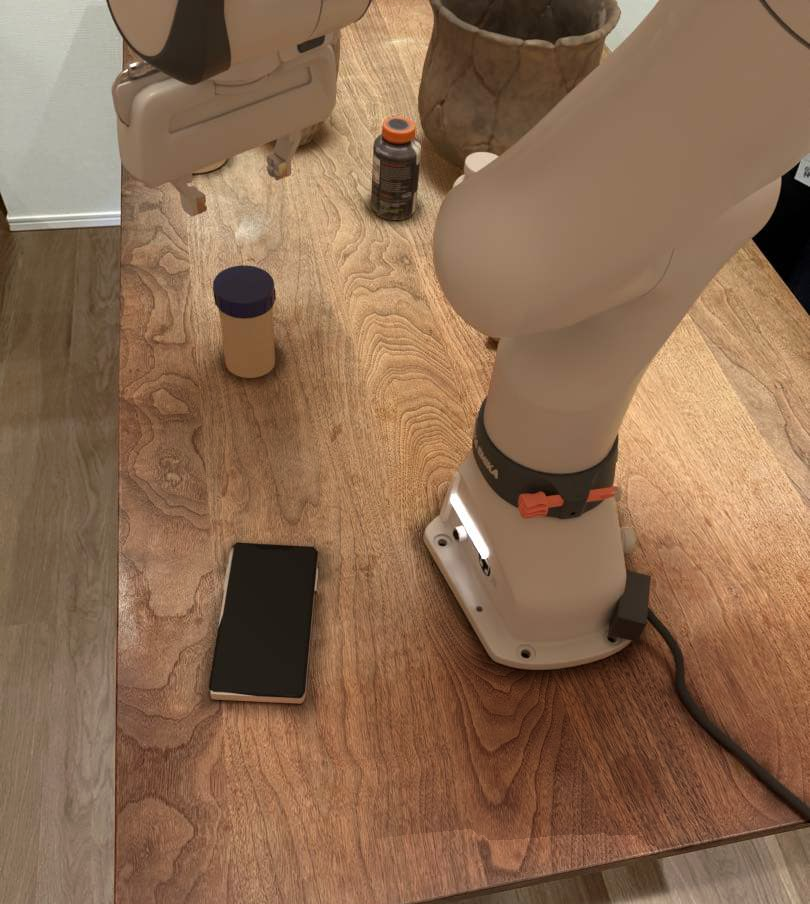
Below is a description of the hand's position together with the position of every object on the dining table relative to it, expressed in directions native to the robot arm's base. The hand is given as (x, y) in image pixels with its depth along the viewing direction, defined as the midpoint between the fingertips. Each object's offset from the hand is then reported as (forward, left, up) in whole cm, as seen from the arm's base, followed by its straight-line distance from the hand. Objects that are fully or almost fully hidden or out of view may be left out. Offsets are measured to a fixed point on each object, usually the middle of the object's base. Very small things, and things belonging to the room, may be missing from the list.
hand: (238, 192), depth 79 cm
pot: (+35, -39, -20) cm, 56 cm away
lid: (0, 0, -10) cm, 10 cm away
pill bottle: (+26, -22, -20) cm, 39 cm away
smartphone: (-33, +3, -20) cm, 39 cm away
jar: (0, 0, -20) cm, 20 cm away
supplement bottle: (+14, -29, -20) cm, 38 cm away
